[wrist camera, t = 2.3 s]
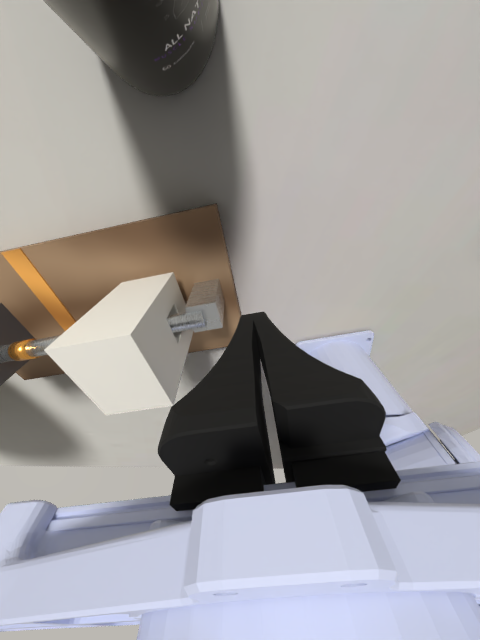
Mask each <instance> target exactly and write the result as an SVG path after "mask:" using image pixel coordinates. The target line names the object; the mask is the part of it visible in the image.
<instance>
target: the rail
mask: <svg viewBox="0 0 480 640" xmlns="http://www.w3.org/2000/svg"><path fill="white" fill-rule="evenodd" d="M224 301H225V300H224V296H223V293H222V289H221V285H220V281H219V279H213V280H208V281H203V282H198V283H194V286H193V288H192V291H191V293H190V296H189V298H188V301H187V304H186V306H185V310H186V312H185V313H179V314H174V315H168V317H167V321H168V324H169V326H170V328H171V330H172V332H173V333H175V332H181V331H186V330H192V329H193V330H194V333H195V332H201V331H206V330H212V329H218V328H223V315H224ZM59 336H61V335H58V336H53V337H47V338H42V339H28V340H23V341H17V342H14V343H12V344H9V345H3V346H0V363H3V362H9V361H23V360H29V359H34V358H39V357H41V356H43V355H48V354H47V353H46V352H45V351H44V349H46V348H47V347H48V346H49V345H50V344H51V343H52V342H54V341H55V340H56V339H57V338H58V337H59Z"/></svg>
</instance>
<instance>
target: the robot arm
mask: <svg viewBox="0 0 480 640" xmlns="http://www.w3.org/2000/svg"><path fill="white" fill-rule="evenodd" d="M373 338H374V333H373V332H372V331H370V330H368V331H362V332H356V333H349V334H343V335H337V336H331V337H325V338H319V339H313V340H307V341H300V342H298V343H296V345H295V344H294V343H292V342H291V341H290V340H289V339H288V338H287V337H286V336H284V335H283V334H282V333H281V332H280V331H279V330H278V328H277V327H276V326H275V325H274V324H273V323H272V322H271V320H270V319H269V318H268V316H267V315H266V313H265V312H258V313H253V314H247V315H242V316H241V317H240V319H239V323H238V325H237V328H236V330H235V333H234V335H233V337H232V339H231V341H230V343H229V344H228V346H227V348H226V350H225V351H224V353H223V355H222V356H221V358H220V359H219V360H218V362H217V363H216V364H215V366H214V367H213V368H212V369H211V371H210V372H209V373H208V374H207V375H206V376H205V378H204V379H203V380H202V381H201V382H200V383H199V384H198V385H197V386H196V387H195V388H194V389H192V390H191V391H190V392H189V393H188V394H187V395H186V396H184V397H183V398H182V399H181V400H180V401H178V402H177V403H176V404H175V405H173V406H172V407H171V409H170V412H169V415H168V417H167V419H166V422H165V425H164V428H163V432H162V435H161V439H160V442H159V446H158V454H159V456H160V458H161V460H162V461H163V462H164V463H165V464H166V466H167V467H168V468H169V469H170V470H171V471H172V473H173V474H174V475H175V479H174V484H173V489H172V494H171V495H169V496H161V497H152V498H142V499H133V500H124V501H115V502H106V503H98V504H88V505H79V506H70V507H60V508H57V507H56V506H55V505H54V504H52V503H50V502H47V501H43V500H31V501H22V502H15V503H10V504H7V505H6V506H5V508H4V510H3V511H2V512H1V513H0V632H1V631H17V630H18V631H19V630H34V629H35V630H36V629H55V628H76V627H98V626H119V625H140V626H139V631H138V636H137V640H480V455H479V454H478V453H477V452H476V450H475V449H474V448H473V447H472V446H471V445H470V444H469V443H468V442H467V441H466V440H465V439H464V438H463V437H462V436H461V435H460V434H459V433H458V432H457V431H456V430H455V429H454V428H452V427H449V426H446V425H441V424H440V423H439V422H433V423H430V424H428V425H429V426H430V427H431V428H432V430H433V431H434V432H435V433H436V434H437V436H438V437H439V438H440V439H441V440H440V441H441V443H442V444H443V445H444V446H445V447H446V449H447V450H448V451H449V452H450V454H451V455H452V456H453V457H454V459H455V460H454V459H453V458H452V457H451V456H450V455H449V453H448V452H447V451H446V450H445V448H444V447H443V446H442V445H441V443H440V442H439V441H438V440H437V438H436V437H435V436H434V435H433V433H432V432H431V431H430V430H429V429H428V427H427V426H426V425H425V424H424V423H423V421H422V420H421V419H420V418H419V417H418V415H417V414H416V413H415V412H413V411H412V409H411V408H410V407H409V406H408V404H407V403H406V402H405V401H404V399H403V398H402V397H401V396H400V394H399V393H398V392H397V391H396V389H395V388H394V387H393V386H392V384H391V383H390V382H389V381H388V379H387V378H386V377H385V376H384V374H383V373H382V372H381V371H380V369H379V368H378V367H377V366H376V364H375V363H374V362H373V361H372V359H371V358H370V352H371V348H372V343H373ZM260 359H261V362H262V366H263V370H264V373H265V377H266V380H267V384H268V388H269V391H270V396H271V400H272V406H273V412H274V417H275V423H276V428H277V434H278V440H279V445H280V451H281V456H282V462H283V468H284V473H285V478H286V483H278V484H275V478H274V471H273V465H272V458H271V452H270V445H269V439H268V432H267V426H266V419H265V412H264V405H263V398H262V384H261V365H260Z"/></svg>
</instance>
